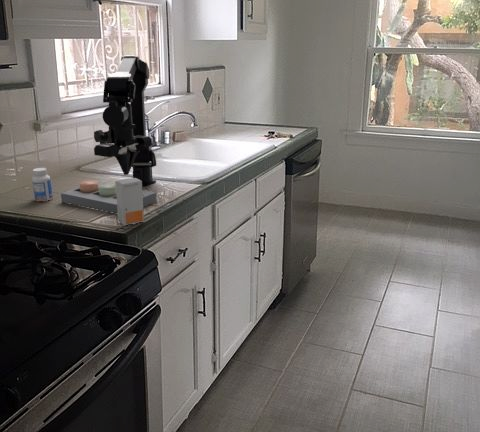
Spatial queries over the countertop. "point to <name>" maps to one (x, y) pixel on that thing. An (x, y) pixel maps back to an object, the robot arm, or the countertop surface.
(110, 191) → the button sage
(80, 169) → the countertop surface
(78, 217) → the countertop surface
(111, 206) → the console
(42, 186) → the pill bottle
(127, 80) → the robot arm
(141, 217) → the skincare box
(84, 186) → the button terracotta
